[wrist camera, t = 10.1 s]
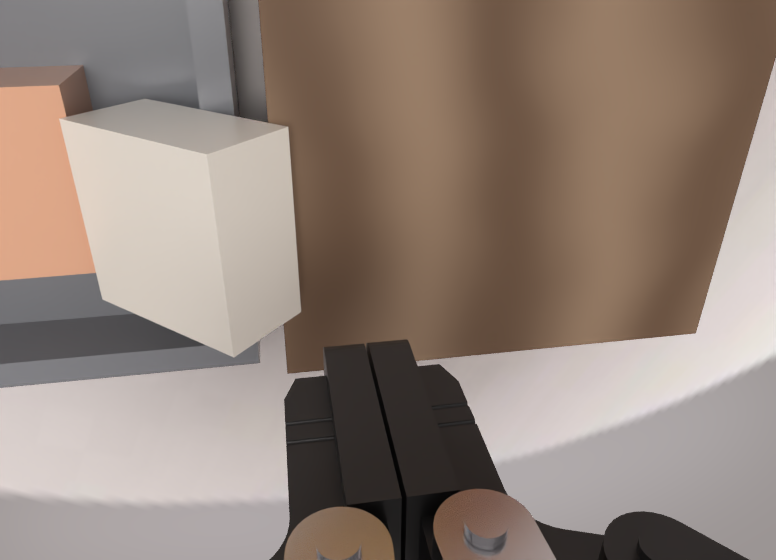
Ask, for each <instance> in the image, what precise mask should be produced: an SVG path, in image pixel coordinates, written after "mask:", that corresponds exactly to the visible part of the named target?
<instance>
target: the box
mask: <svg viewBox="0 0 776 560" xmlns="http://www.w3.org/2000/svg"><path fill="white" fill-rule="evenodd" d="M70 65H83V67H84V72H85V76H86V81H87V85H88V90H89V94H90V99H91V104H92V108H93V111H94V110H98V109H102V108H107V107H111V106H115V105H120V104H124V103H128V102H132V101H137V100H141V99H150V100H155V101H160V102H165V103H170V104H175V105H180V106H185V107H190V108H196V109H201V110H206V111H211V112H216V113H221V114H226V115H231V116H236V117H240V116H239V106H238V96H237V86H236V76H235V66H234V56H233V46H232V36H231V26H230V16H229V6H228V0H0V68H7V67H38V66H70ZM255 363H260V340H259V341H258V342H256V343H255V344H253V345H252V346H250V347H249V348H247V349H246V350H244V351H243V352H241V353H240V354H238V355H237V356H236V357H232V356H229V355H227V354H225V353H223V352H220V351H218V350H216V349H214V348H211V347H209V346H207V345H204V344H202V343H200V342H198V341H195V340H193V339H191V338H189V337H186V336H184V335H182V334H180V333H177V332H175V331H173V330H171V329H168V328H166V327H164V326H161V325H159V324H157V323H155V322H152V321H150V320H148V319H146V318H143V317H141V316H139V315H137V314H134V313H132V312H130V311H127V310H125V309H123V308H121V307H118V306H116V305H114V304H112V303H109V302H107V301H105V300H103V299H102V296H101V291H100V287H99V283H98V279H97V275H96V273H89V274H76V275H64V276H51V277H39V278H26V279H14V280H1V281H0V388H3V387H14V386H24V385H35V384H45V383H56V382H66V381H77V380H87V379H98V378H108V377H119V376H129V375H139V374H150V373H160V372H171V371H181V370H192V369H202V368H213V367H223V366H234V365H244V364H255Z"/></svg>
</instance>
